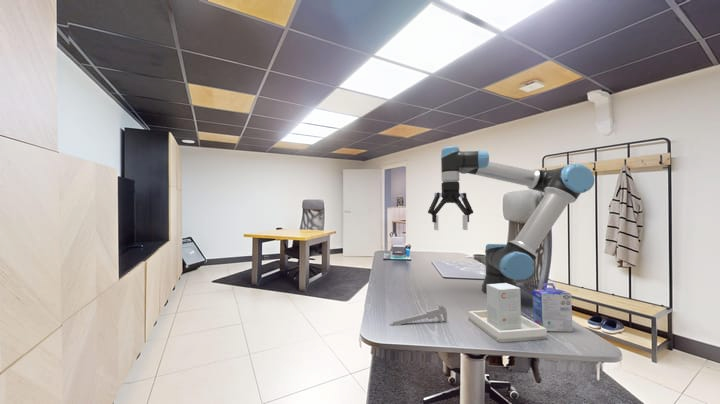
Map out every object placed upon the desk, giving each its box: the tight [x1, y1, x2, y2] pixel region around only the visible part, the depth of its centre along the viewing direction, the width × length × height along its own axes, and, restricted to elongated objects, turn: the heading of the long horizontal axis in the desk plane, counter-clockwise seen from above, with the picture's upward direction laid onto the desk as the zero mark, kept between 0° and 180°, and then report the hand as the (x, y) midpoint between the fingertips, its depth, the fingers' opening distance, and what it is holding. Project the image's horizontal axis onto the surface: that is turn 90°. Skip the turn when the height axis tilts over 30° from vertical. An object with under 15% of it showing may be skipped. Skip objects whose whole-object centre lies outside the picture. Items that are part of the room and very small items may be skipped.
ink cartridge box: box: [531, 282, 574, 333], centre depth 86 cm, size 10×6×14 cm, turn 89°
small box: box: [486, 283, 522, 330], centre depth 85 cm, size 8×6×13 cm
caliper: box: [389, 304, 448, 326], centre depth 89 cm, size 20×1×6 cm, turn 98°
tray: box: [468, 309, 548, 344], centre depth 85 cm, size 16×16×3 cm
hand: (450, 230), depth 113 cm, fingers open, 13 cm apart
